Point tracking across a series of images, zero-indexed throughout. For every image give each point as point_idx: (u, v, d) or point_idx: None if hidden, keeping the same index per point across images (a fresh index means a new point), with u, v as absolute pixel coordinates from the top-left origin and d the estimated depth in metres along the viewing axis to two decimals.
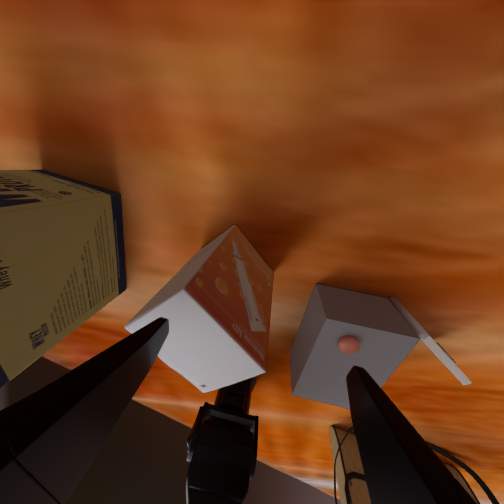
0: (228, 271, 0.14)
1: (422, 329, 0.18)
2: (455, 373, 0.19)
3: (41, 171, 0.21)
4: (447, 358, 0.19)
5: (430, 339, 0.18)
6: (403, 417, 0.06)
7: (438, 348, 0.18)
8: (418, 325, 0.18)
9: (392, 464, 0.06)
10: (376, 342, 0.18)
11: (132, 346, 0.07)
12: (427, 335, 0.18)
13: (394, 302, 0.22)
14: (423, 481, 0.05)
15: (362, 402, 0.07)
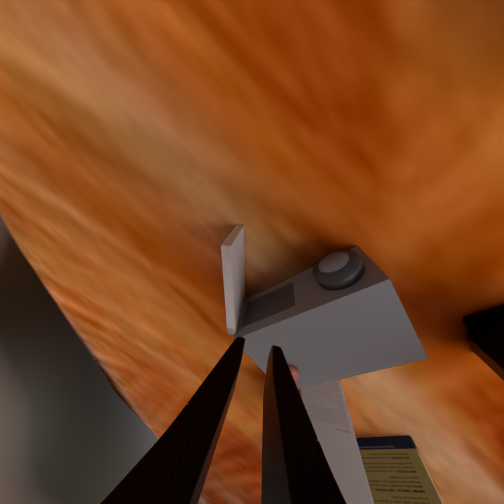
0: None
1: None
2: (229, 272, 0.15)
3: None
4: (226, 297, 0.16)
5: (228, 325, 0.17)
6: (295, 389, 0.06)
7: (227, 312, 0.17)
8: None
9: (273, 431, 0.06)
10: (267, 356, 0.18)
11: (230, 371, 0.07)
12: (228, 330, 0.18)
13: None
14: (284, 442, 0.05)
15: (269, 378, 0.07)
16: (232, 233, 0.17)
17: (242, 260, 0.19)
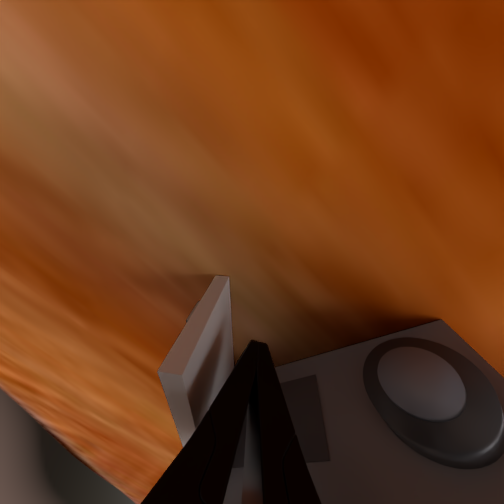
0: None
1: None
2: (187, 415, 0.06)
3: None
4: None
5: None
6: (278, 385, 0.06)
7: None
8: None
9: (253, 426, 0.06)
10: None
11: (247, 376, 0.07)
12: None
13: None
14: (261, 436, 0.05)
15: None
16: (200, 307, 0.08)
17: (227, 336, 0.11)
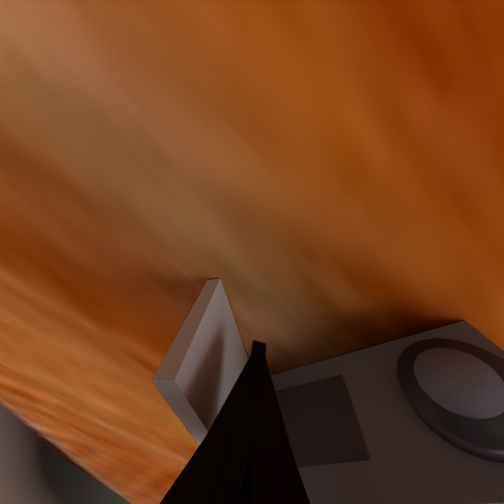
0: None
1: None
2: (194, 419, 0.07)
3: None
4: None
5: None
6: (270, 383, 0.07)
7: None
8: None
9: None
10: None
11: (256, 378, 0.07)
12: None
13: None
14: (251, 434, 0.05)
15: None
16: (193, 313, 0.08)
17: (232, 337, 0.11)
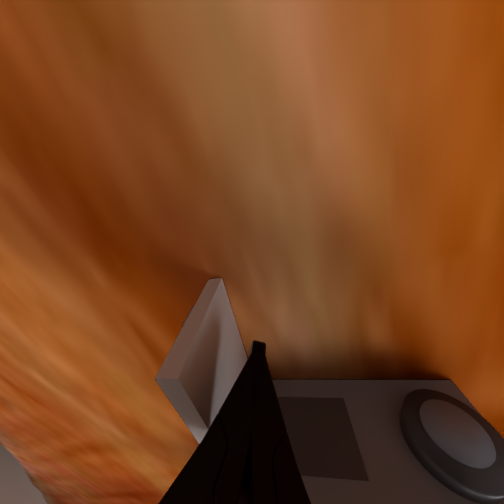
0: None
1: None
2: (196, 417, 0.07)
3: None
4: None
5: None
6: (270, 383, 0.07)
7: None
8: None
9: None
10: None
11: (255, 378, 0.07)
12: None
13: None
14: (252, 434, 0.05)
15: None
16: (194, 312, 0.08)
17: (232, 337, 0.11)
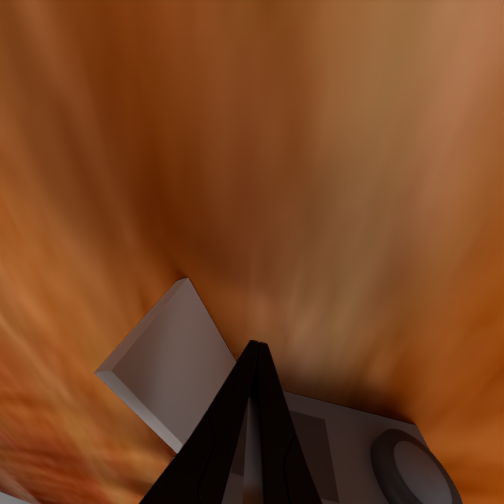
0: None
1: None
2: (146, 410, 0.07)
3: None
4: (171, 445, 0.08)
5: None
6: (278, 385, 0.06)
7: None
8: None
9: (254, 426, 0.06)
10: None
11: (246, 376, 0.07)
12: None
13: None
14: (262, 436, 0.05)
15: None
16: (152, 311, 0.09)
17: (206, 335, 0.11)
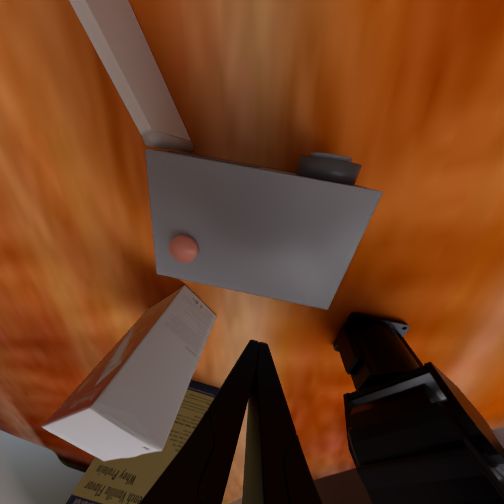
0: (103, 362, 0.17)
1: None
2: None
3: None
4: (100, 53, 0.10)
5: (138, 126, 0.11)
6: (278, 385, 0.06)
7: (122, 94, 0.10)
8: (157, 147, 0.12)
9: (254, 426, 0.06)
10: (174, 210, 0.12)
11: (246, 376, 0.07)
12: (144, 138, 0.11)
13: (187, 150, 0.15)
14: (262, 436, 0.05)
15: None
16: None
17: (147, 56, 0.13)
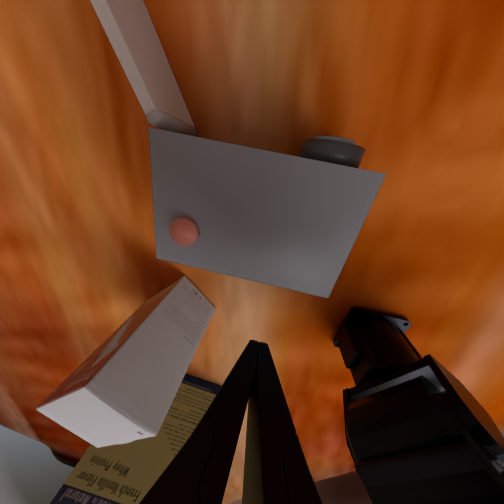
0: (100, 348, 0.17)
1: None
2: None
3: None
4: (107, 30, 0.10)
5: (142, 104, 0.11)
6: (278, 385, 0.06)
7: (127, 72, 0.10)
8: (161, 128, 0.12)
9: (254, 426, 0.06)
10: (176, 192, 0.12)
11: (246, 376, 0.07)
12: (148, 117, 0.11)
13: None
14: (262, 436, 0.05)
15: None
16: None
17: (154, 40, 0.13)
